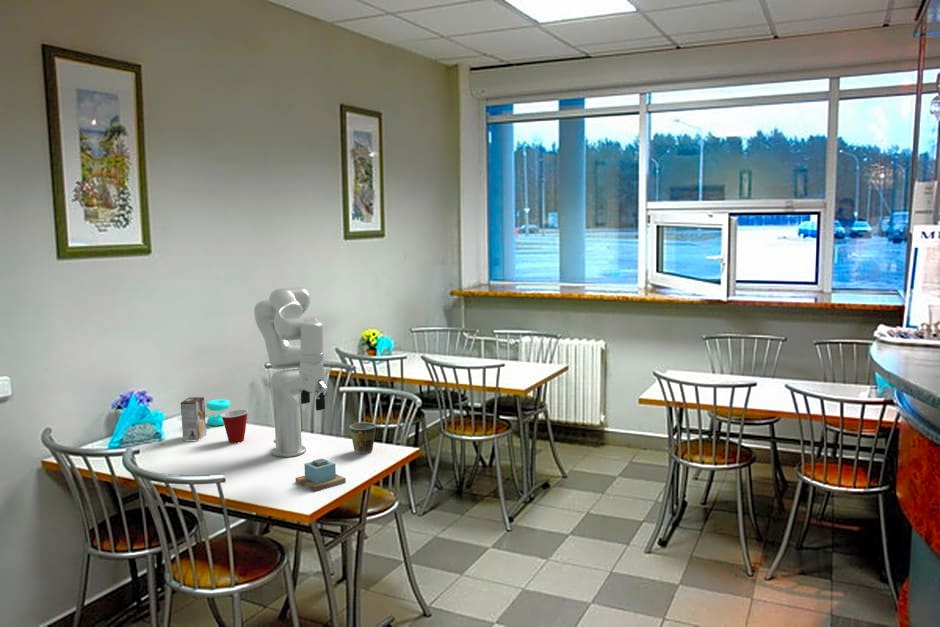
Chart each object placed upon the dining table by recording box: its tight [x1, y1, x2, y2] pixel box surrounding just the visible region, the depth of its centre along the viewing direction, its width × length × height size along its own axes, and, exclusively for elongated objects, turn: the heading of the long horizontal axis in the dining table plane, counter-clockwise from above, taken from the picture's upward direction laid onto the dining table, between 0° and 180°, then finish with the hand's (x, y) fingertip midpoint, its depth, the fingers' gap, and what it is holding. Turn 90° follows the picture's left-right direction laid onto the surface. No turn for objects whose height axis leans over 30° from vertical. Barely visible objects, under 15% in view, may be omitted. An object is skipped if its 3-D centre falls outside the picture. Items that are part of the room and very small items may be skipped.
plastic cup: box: [220, 409, 249, 444], centre depth 299 cm, size 11×11×12 cm
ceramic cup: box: [349, 421, 377, 455], centre depth 283 cm, size 13×10×10 cm
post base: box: [295, 458, 347, 492], centre depth 252 cm, size 12×12×8 cm
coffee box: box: [180, 396, 207, 441], centre depth 304 cm, size 9×6×16 cm
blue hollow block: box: [303, 458, 337, 484], centre depth 252 cm, size 7×7×5 cm
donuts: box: [205, 398, 231, 427], centre depth 326 cm, size 10×10×10 cm
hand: (312, 406), depth 257 cm, fingers open, 9 cm apart
